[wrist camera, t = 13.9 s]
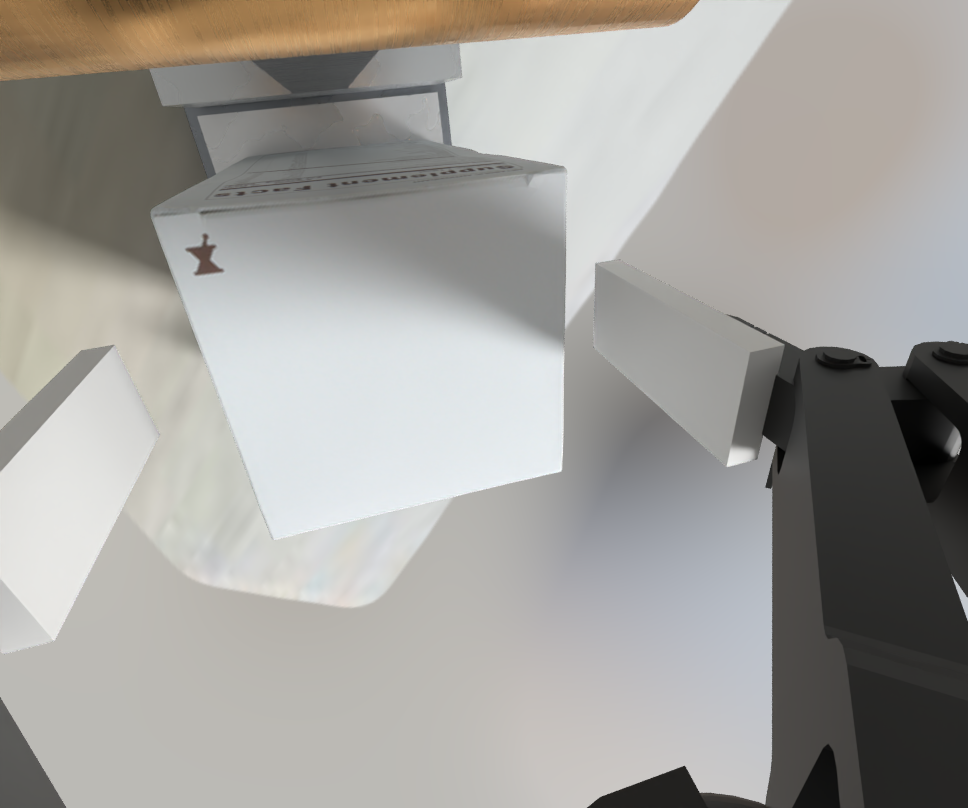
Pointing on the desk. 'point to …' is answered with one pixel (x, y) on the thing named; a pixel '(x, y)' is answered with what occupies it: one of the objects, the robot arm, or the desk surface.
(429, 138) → the press bed
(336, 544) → the desk surface
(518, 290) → the supplement box
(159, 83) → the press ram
